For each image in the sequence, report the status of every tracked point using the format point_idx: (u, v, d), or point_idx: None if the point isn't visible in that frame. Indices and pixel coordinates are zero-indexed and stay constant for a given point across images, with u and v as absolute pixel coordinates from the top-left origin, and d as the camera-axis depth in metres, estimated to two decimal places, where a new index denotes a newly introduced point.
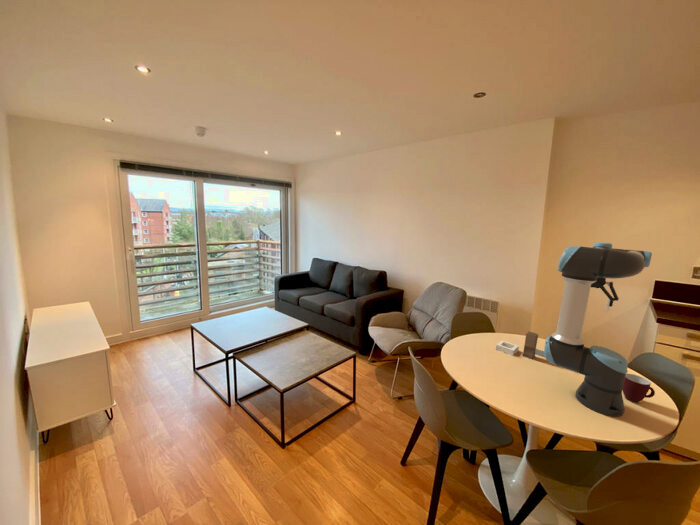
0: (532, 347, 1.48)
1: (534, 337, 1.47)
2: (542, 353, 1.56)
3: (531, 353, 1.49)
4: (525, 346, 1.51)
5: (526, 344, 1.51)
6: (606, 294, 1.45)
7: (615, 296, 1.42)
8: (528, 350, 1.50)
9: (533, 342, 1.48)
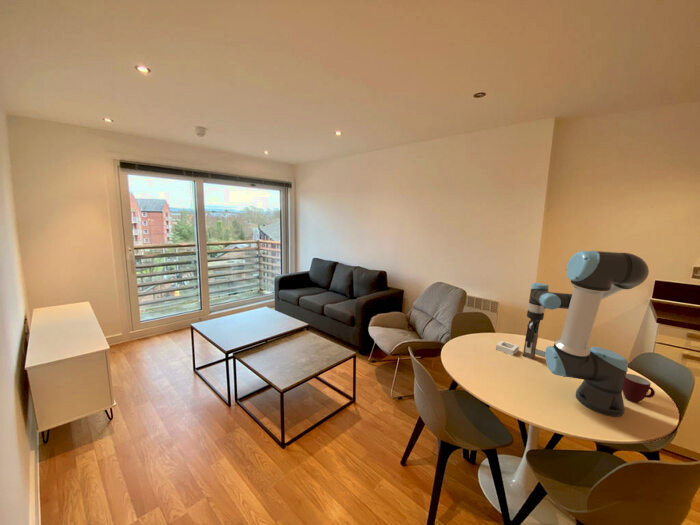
0: (532, 347, 1.48)
1: (534, 337, 1.47)
2: (542, 353, 1.56)
3: (531, 353, 1.49)
4: (525, 346, 1.51)
5: None
6: None
7: (526, 337, 1.47)
8: None
9: (533, 342, 1.48)
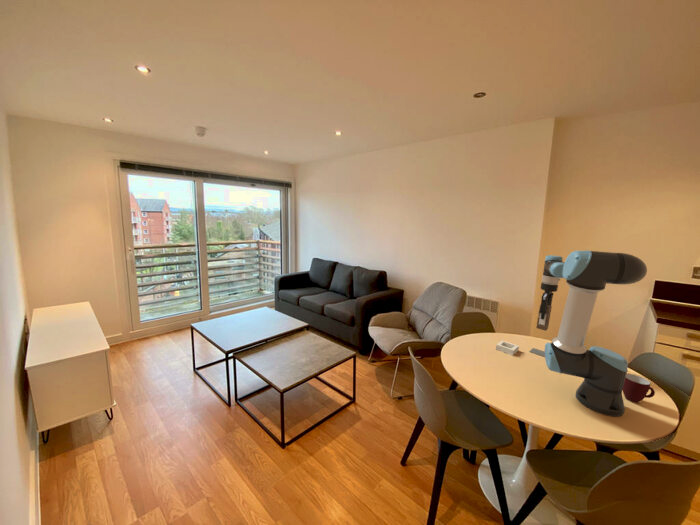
0: (546, 319, 1.51)
1: (548, 308, 1.50)
2: (542, 353, 1.56)
3: (545, 325, 1.52)
4: (539, 318, 1.54)
5: None
6: None
7: (540, 308, 1.50)
8: None
9: (547, 313, 1.50)
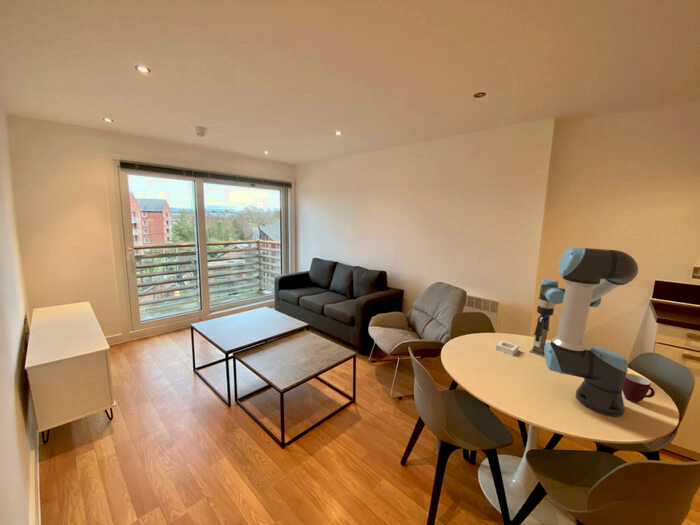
0: (542, 343, 1.53)
1: (544, 333, 1.52)
2: None
3: (541, 349, 1.54)
4: None
5: None
6: None
7: None
8: None
9: (543, 338, 1.53)
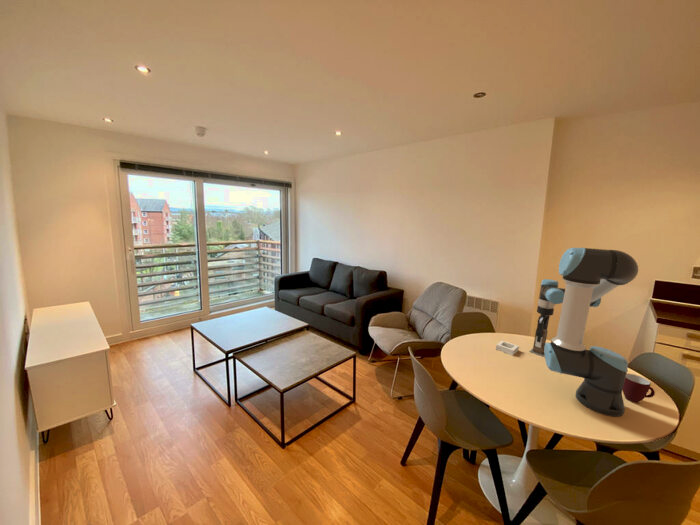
0: (542, 343, 1.53)
1: (544, 333, 1.52)
2: None
3: (541, 349, 1.54)
4: (535, 342, 1.56)
5: None
6: None
7: None
8: None
9: (543, 338, 1.53)
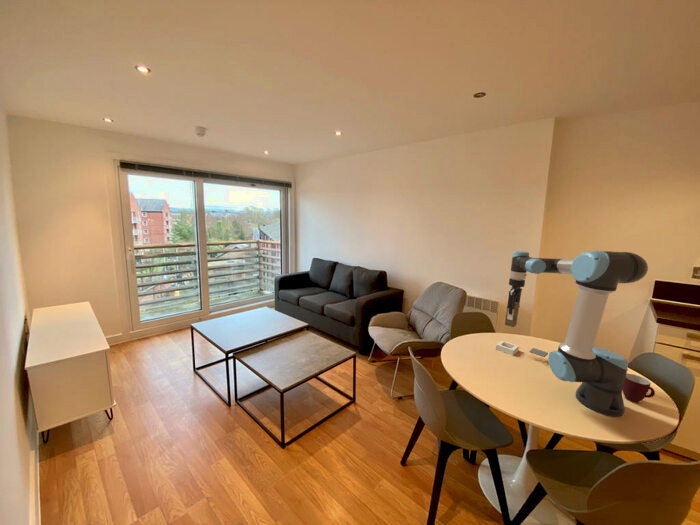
0: (513, 315, 1.52)
1: (515, 305, 1.51)
2: (542, 353, 1.56)
3: (512, 321, 1.53)
4: (507, 315, 1.55)
5: None
6: None
7: None
8: None
9: (514, 310, 1.52)
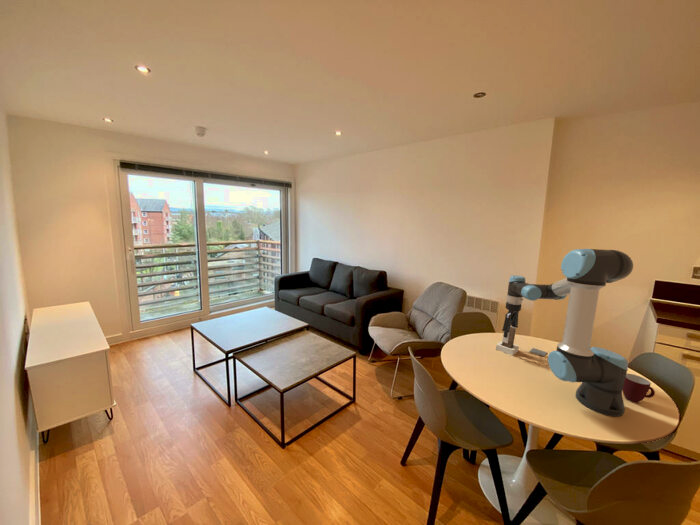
0: (510, 341, 1.55)
1: (511, 331, 1.54)
2: (542, 353, 1.56)
3: (509, 347, 1.56)
4: None
5: None
6: None
7: None
8: (506, 344, 1.57)
9: (510, 336, 1.54)
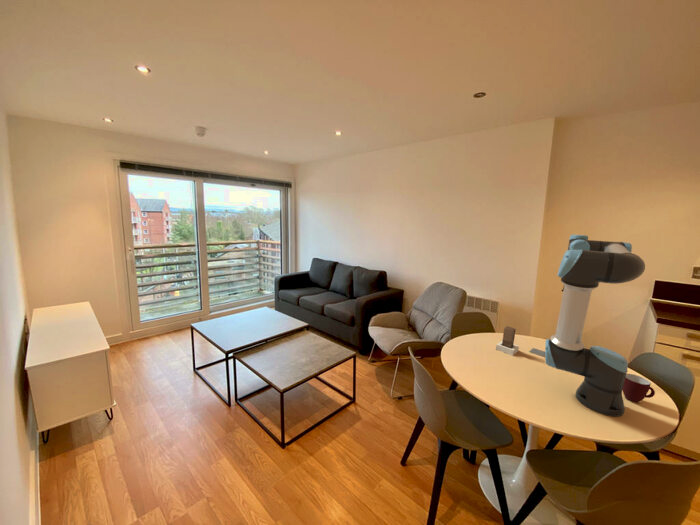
0: (510, 341, 1.55)
1: (511, 331, 1.54)
2: (542, 353, 1.56)
3: (509, 347, 1.56)
4: (503, 340, 1.57)
5: (504, 338, 1.57)
6: None
7: None
8: (506, 344, 1.57)
9: (510, 336, 1.54)
